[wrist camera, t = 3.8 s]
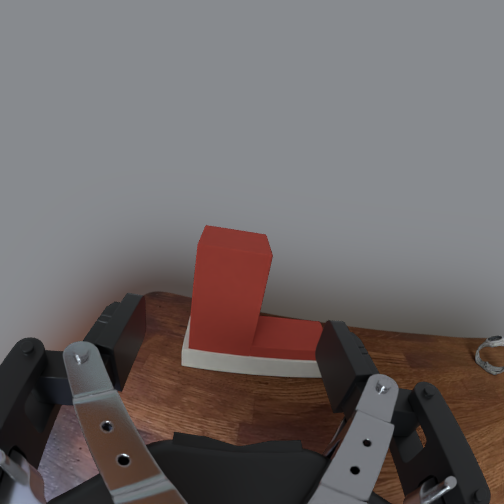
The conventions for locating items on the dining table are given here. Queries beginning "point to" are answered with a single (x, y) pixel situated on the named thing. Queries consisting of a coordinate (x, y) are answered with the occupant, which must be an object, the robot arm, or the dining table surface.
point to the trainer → (242, 312)
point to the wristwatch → (486, 366)
